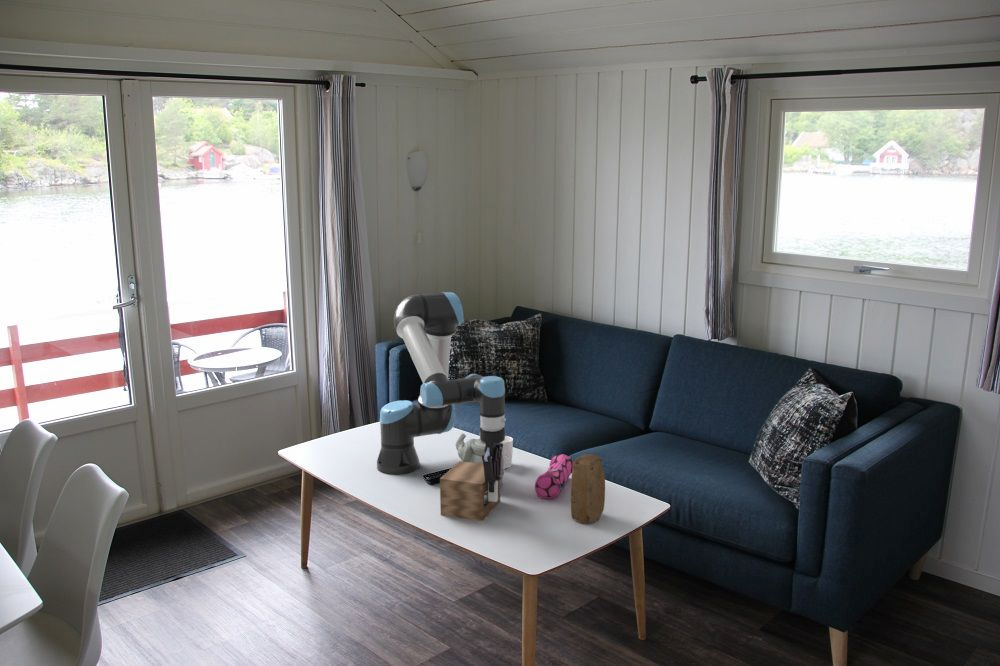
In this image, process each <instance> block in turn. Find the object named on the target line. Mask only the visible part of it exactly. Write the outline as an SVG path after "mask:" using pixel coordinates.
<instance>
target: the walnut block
mask: <svg viewBox="0 0 1000 666" xmlns="http://www.w3.org/2000/svg"><path fill="white" fill-rule="evenodd" d="M499 477H500V475H499ZM498 484H499V490H498V501H497V502H492V501H490V502H489V504H484V493H485V492H486V491H487V492H488V482H485V475H484V466H483V464H478V463H470V462H462V460H461V461H460V460H459V461H458V462H457V463H455V465H453V466H452V467H451V468H449V470H448V471H447V472H446V473H444V474H443V475H442V476H441V477H440V478H439V498H440V499H439V501H440V502H439V503H440V516H446V517H451V518H452V517H453V518H458V519H459V518H460V519H466V520H472V521H480V522H481V521H482V522H483V521H484V520H485V519H486V518H487V517H488V516H489V515H490V513H491V512H492V511H493V510H494V509H495V508H496V506H497V505H498V504H499V503H500V502H501V486H500V480H498Z"/></svg>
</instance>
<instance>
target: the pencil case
mask: <svg viewBox="0 0 1000 666" xmlns="http://www.w3.org/2000/svg"><path fill="white" fill-rule="evenodd" d="M572 471H573V460H572V459H571V457H570V456H569V455H566V454H564V453H563V454H558V455H557V454H556V455H554V456H553V457H552V458H551V459H550V462H549V467H548V468H547V470H546V471H545V472H543V473H541V474H540V475H539V476H538V477H537V479H535V483H534V491H535V494H536V495H537V496H538V497H539V498H541V499H544V500H552V499H555V498H557V496H559V494H560V491H561V489H564V488H565V487H564V485H566V483H567V481H568V479H569V478H570V476H572Z"/></svg>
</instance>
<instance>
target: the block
mask: <svg viewBox="0 0 1000 666" xmlns="http://www.w3.org/2000/svg"><path fill="white" fill-rule="evenodd" d="M572 462H573V471H572V473H571V475H570V476H571V480H570V514H571V518H572V519H573V520H575V521H576V522H578V523H580V524H593V523H596V522H597V521H598V520H600V519H599V518H600V517H601V516H602V514H603V512H604V509H605V501H606V500H605V499H606V476H605V471H604V468H603V462H602V457H601V456H599V455H598V454H592V453H584V454H582V455H580V456H578V457H576V458H575V459H573V460H572Z"/></svg>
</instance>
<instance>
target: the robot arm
mask: <svg viewBox="0 0 1000 666" xmlns="http://www.w3.org/2000/svg"><path fill="white" fill-rule="evenodd" d="M462 305H463V304H462V302H461V300H460V298H459V296H458V295H457V294H456V293H454V292H451V291H450V292H447V291H445V292H444V291H441V292H434V293H433V292H432V293H423V294H411V295H409V296H407V297H405V298H404V299H402V301H401V302H400V303H398V305H397V307H396V309H395V312H394V315H393V326H394V330H395V332H396V334H397V336H398V337H400V339H403V341H404V344H405V346H406V349H407V351H408V352H409V354H410V358H411V360H412V362H413V364H414V366H415V368H416V370H417V373H418V375H419V377H420V379H421V382H422V384H421V385H420V389H419V390H420V392H419V396H418V400H417V403H414V404H413V402H412V401H411V400H406V399H404V400H396V401H395V400H394V401H391V402H389V403H387V404H385V405H384V406H381V409H380V412H379V414H380V415H379V425H380V444H381V445H380V450H379V452H378V457H377V460H376V469H377V470H378V471H379V472H381V473H385V474H389V475H401V474H407V473H412V472H414V471H416V470H418V468H420V459H419V456H418V453H417V450H416V446H415V442H414V438H416V437H424V436H430V435H441V434H444V433H447V432H450V431H451V430H452V429H453V428H454V426H455V424H456V423H455V422H456V418H457V417H456V415H457V414H456V406H455V405H457V404H458V405H460V404H465V403H466V404H467V403H475V402H476V403H478V404H479V427H480V429H479V433H480V435H479V439H481V441H483V442H484V443H485V444H486V445H485V455H482V460H483V466H484V475H485V482H488V501H492V502H497V501H498V480H500V479H501V477H499V475H500V474H501V459H502V449H503V444H501V443H500V442H502V441H504V439H505V436H506V434H505V433H506V429H505V427H506V425H505V424H506V423H505V422H507V418H506V417H505V415H506V414H505V413H506V411H505V410H506V407H505V406H506V405H505V404H506V402H505V401H506V400H505V399H506V388H505V380H504V379H503V378H502V377H500V376H496V375H488V376H483V375H480V374H478V373H469V375H467V376H465V377H464V378H457V379H456V378H455V379H449V372H450V371H449V370H450V357H451V354H450V353H451V344H452V341H451V340H452V336H453V335H455V334H456V332H457V327H459V326H461V325H462V324H463V322H464V310H463V306H462Z"/></svg>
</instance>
